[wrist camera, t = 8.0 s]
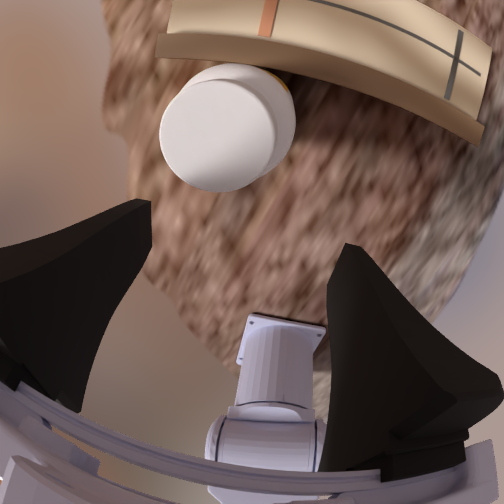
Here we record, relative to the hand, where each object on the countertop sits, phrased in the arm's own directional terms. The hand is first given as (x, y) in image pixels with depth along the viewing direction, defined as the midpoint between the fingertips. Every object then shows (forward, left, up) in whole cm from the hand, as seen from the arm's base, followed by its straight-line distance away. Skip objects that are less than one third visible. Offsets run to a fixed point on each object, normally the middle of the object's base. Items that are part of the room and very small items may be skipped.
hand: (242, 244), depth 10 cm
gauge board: (+10, -3, -10) cm, 15 cm away
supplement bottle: (+3, +2, -11) cm, 11 cm away
